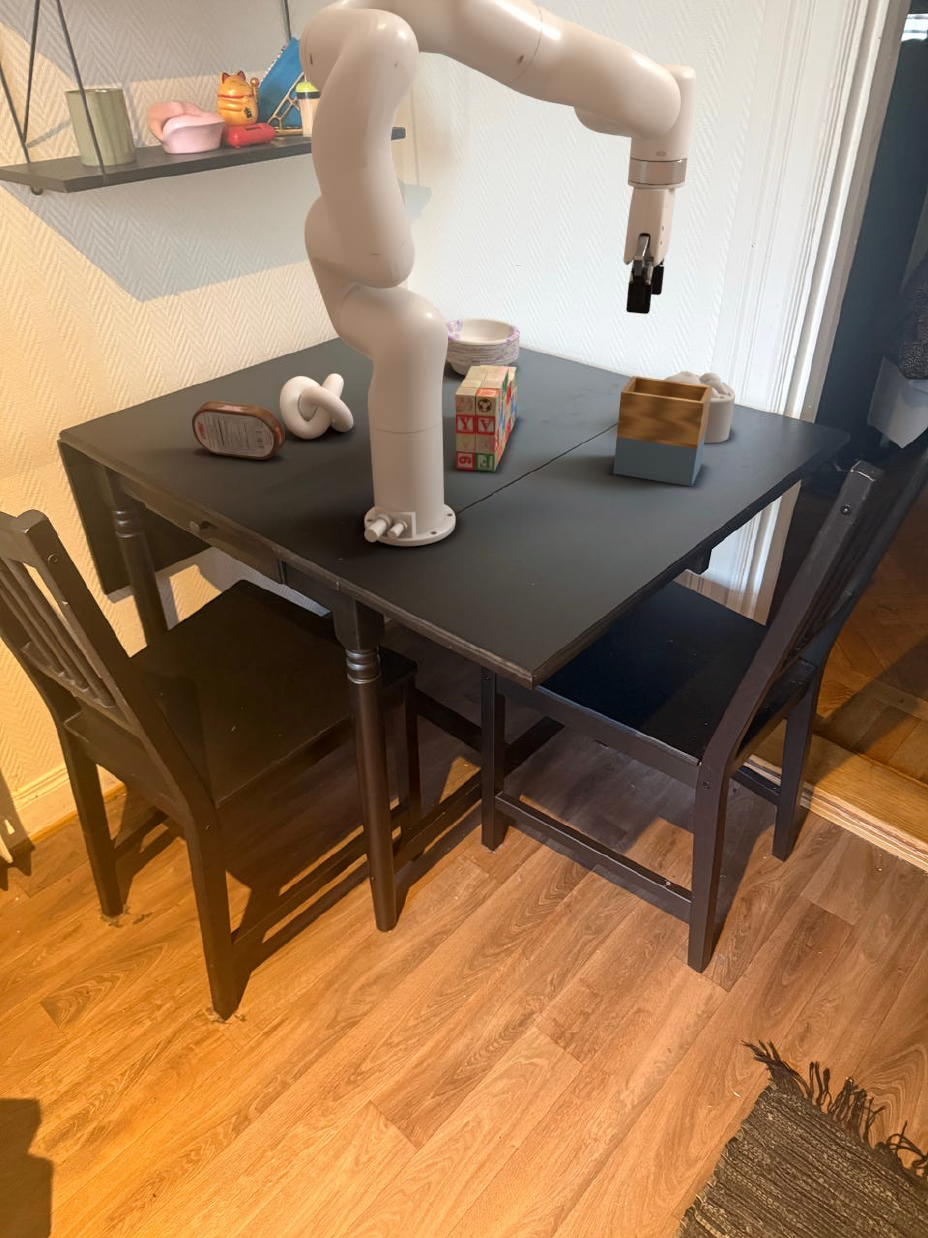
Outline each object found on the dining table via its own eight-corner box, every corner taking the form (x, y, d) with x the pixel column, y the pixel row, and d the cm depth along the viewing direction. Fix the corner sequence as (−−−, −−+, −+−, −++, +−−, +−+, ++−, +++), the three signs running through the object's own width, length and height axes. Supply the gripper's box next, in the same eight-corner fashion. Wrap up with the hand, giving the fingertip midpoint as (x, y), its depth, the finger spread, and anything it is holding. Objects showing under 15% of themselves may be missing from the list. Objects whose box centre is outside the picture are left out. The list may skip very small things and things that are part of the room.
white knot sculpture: (298, 414, 162) (292, 364, 157) (365, 418, 160) (361, 367, 155) (278, 440, 153) (271, 388, 148) (348, 444, 151) (344, 392, 146)
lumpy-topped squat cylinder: (680, 410, 163) (686, 361, 158) (743, 431, 155) (752, 381, 150) (642, 425, 157) (647, 376, 152) (705, 449, 149) (713, 397, 144)
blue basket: (700, 467, 144) (706, 430, 140) (691, 486, 138) (697, 449, 135) (624, 455, 147) (628, 419, 144) (613, 473, 142) (616, 436, 138)
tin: (288, 456, 148) (282, 406, 143) (280, 464, 145) (273, 413, 140) (203, 446, 151) (194, 396, 146) (193, 454, 149) (184, 404, 144)
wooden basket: (706, 430, 140) (712, 386, 136) (697, 449, 135) (703, 403, 131) (628, 419, 144) (632, 375, 140) (616, 436, 138) (620, 391, 134)
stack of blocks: (481, 416, 161) (481, 346, 154) (516, 419, 160) (518, 348, 153) (455, 469, 143) (454, 392, 136) (495, 472, 142) (496, 395, 135)
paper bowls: (528, 379, 176) (529, 337, 171) (450, 386, 173) (449, 344, 168) (506, 353, 188) (507, 314, 183) (433, 359, 185) (432, 319, 180)
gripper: (641, 160, 131) (630, 285, 141) (615, 182, 118) (605, 317, 127) (694, 163, 129) (679, 289, 139) (675, 185, 116) (660, 322, 125)
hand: (644, 302), depth 133 cm, fingers open, 9 cm apart
